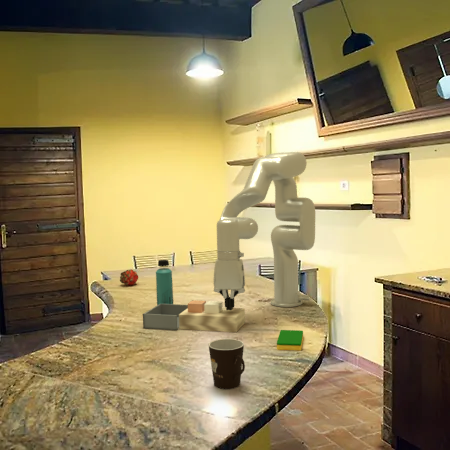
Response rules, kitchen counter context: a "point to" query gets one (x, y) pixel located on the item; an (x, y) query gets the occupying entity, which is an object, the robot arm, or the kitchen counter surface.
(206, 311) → the cream square block
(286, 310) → the kitchen counter surface
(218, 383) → the coffee mug
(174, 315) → the tray
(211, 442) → the kitchen counter surface
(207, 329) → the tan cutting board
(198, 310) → the orange square block
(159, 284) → the beverage bottle
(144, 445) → the kitchen counter surface
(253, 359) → the kitchen counter surface
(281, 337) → the dish sponge
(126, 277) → the dragon fruit
